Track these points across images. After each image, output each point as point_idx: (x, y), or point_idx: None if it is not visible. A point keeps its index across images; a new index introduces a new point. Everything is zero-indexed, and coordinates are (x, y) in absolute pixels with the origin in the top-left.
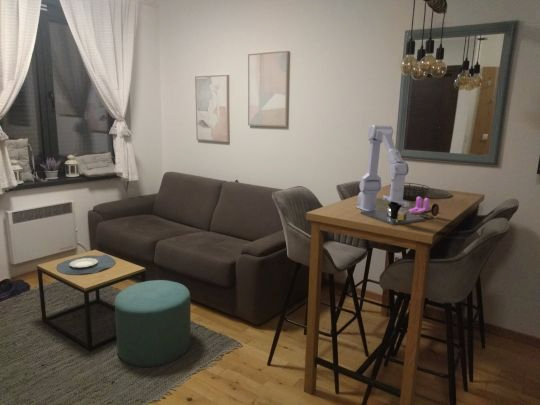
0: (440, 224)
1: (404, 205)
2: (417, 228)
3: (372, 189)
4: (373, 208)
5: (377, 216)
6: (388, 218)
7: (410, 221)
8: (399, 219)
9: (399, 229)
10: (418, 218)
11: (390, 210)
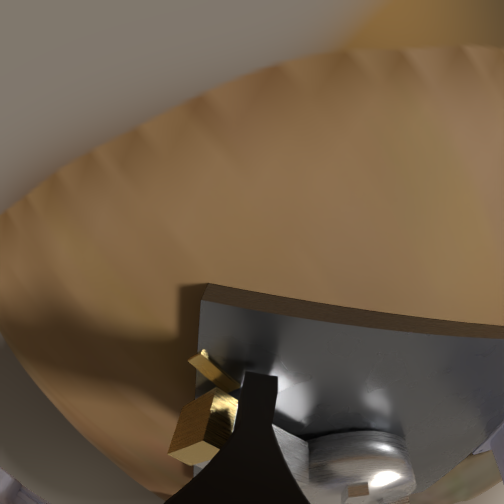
0: (119, 460)
1: (2, 483)
2: (67, 349)
3: None
4: (502, 435)
5: (451, 355)
6: (339, 387)
7: None
8: (203, 398)
9: (70, 211)
10: None
11: (369, 473)
